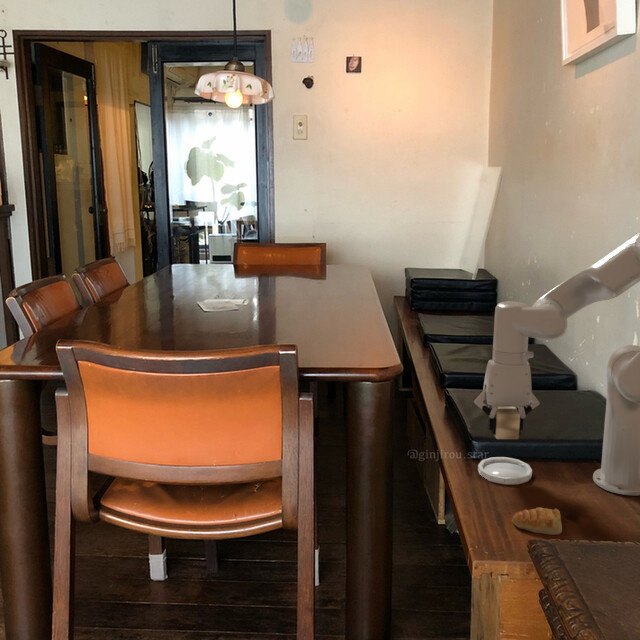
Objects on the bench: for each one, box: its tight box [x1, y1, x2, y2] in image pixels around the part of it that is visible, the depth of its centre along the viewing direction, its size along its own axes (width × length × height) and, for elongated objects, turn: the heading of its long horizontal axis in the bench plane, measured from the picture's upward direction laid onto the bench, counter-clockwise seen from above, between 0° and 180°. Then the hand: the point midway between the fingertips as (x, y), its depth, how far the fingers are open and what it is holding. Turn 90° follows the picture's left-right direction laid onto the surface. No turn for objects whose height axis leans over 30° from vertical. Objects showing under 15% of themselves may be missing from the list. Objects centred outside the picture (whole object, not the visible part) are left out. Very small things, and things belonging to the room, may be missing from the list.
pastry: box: [511, 506, 563, 536], centre depth 137 cm, size 9×7×4 cm
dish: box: [477, 456, 533, 486], centre depth 161 cm, size 12×12×1 cm
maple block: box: [493, 406, 520, 440], centre depth 159 cm, size 5×5×6 cm
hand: (504, 432), depth 159 cm, fingers closed on maple block, 5 cm apart
